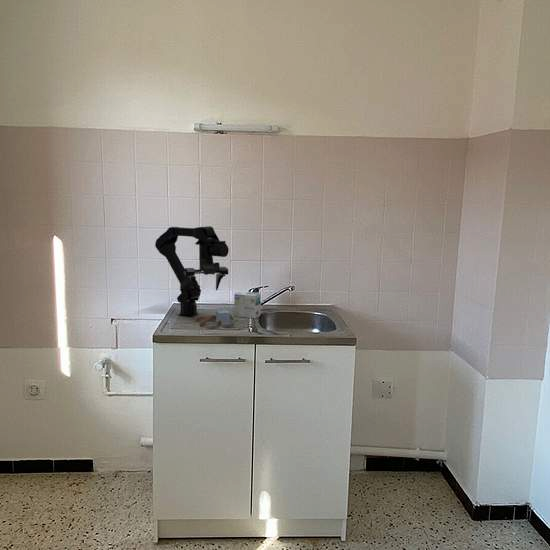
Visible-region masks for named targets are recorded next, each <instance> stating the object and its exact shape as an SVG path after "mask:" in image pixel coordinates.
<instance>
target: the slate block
mask: <svg viewBox="0 0 550 550" xmlns="http://www.w3.org/2000/svg"><path fill="white" fill-rule="evenodd" d="M230 315H231V312H230V311H229V310H228V309H219V310H215V316H216V321H215V322H216V324H218V321H221V325H231V320H230Z"/></svg>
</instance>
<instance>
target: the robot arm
mask: <svg viewBox="0 0 550 550" xmlns="http://www.w3.org/2000/svg"><path fill="white" fill-rule="evenodd" d="M178 237H189V238H194V239H196V240H197V241H196V242H195V243H194V244H195V245H196V246H199V249H198V250H199V252H198V253H199V257H198V258H199V260H198V261H199V269H195V268H194V267H184V265H183V263H182V262H181V259H180V258H179V256H178V254H177V253H176V252H177V249H176V248H177V246H176V242H177V241H178V239H179V238H178ZM154 245H155V248H156V250H157V251H158V253H160V254H161V255H162V256H163V257H164V258H165V259H166V260H167V262H168V264H169V266H170V267H171V270H172V271H173V273H174V275H175V277H176V279H177V281H178V282H179V286H180V287H179V291H180V294H179V295H178V296H177V297H176V299H177V303H180V304H179V305H180V308H179V309H180V313H178V316H182V317H189V318H190V317H193V316H195V315H198V310H197V309H198V308H197V307H198V305H197V301H199V298H200V296H201V294H202V293H201V292H202V290H201V286H200V285H199V281H198V280H197V279H196V278H197V276H196V275H197V274H198V275H199V274H201V275H202V274H203V275H206V276H208V275H215V291H218V290H219V286H220V284H221V281H222V279H223V278H224V277H226V276H227V275H229V269H228V268H227V266H220V262H214V259H213V257H218V258H219V257H220V258H221V257H222V258H226V257H227V256H228V254H229V252H230V251H229V247H228V244H227V243H226V240H220V238H219V236H218V235H217V233H216V232H215V229H214V227H213V226H210V225H209V226H197V227H194V228H193V227H180V226H169V228H167V230H166V231H164V232H163V233H162V234H161V235H160V236H159V237H158V238H156V240H155V244H154Z"/></svg>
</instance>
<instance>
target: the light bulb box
mask: <svg viewBox="0 0 550 550" xmlns="http://www.w3.org/2000/svg"><path fill="white" fill-rule="evenodd" d="M261 294H262V293H261V292H253V291H241V290H240V291H237V292H235V293H234V295H233V296H234V299H233V301H234V303H233V304H234V307H233V309H234V311H233V312H234V315H233V316H234V317H239V318H247V319H257V318H258V317H261V314H262V313H261V309H262V307H261V301H262V300H261V299H262V298H261V297H262V295H261ZM250 317H252V318H250Z"/></svg>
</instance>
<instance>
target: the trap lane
mask: <svg viewBox="0 0 550 550" xmlns="http://www.w3.org/2000/svg"><path fill="white" fill-rule="evenodd" d="M213 320H216V315H207V316H206V315H205V316H195V322H196V323H197V322H198V321H200V322H198V323H199V327H200V328H204V327H203V326H206V327H205V328H206V329H207V330H216V329H215V328H219V329H221V327H222V328H224V329H231V328H232V327H233V328H235V325H238V319H237V318H236V316H234V315H233V314H230V324H221V321H218V323H217V325H207V322H210V321H211V322H214V321H213ZM220 326H221V327H220Z"/></svg>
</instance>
